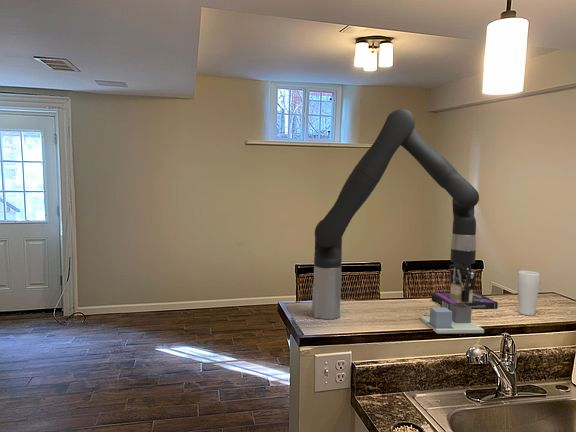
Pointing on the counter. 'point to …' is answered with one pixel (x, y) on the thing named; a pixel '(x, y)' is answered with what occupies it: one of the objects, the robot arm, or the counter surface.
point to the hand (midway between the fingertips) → (460, 299)
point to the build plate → (457, 327)
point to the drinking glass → (528, 292)
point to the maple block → (459, 293)
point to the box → (477, 303)
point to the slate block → (441, 317)
